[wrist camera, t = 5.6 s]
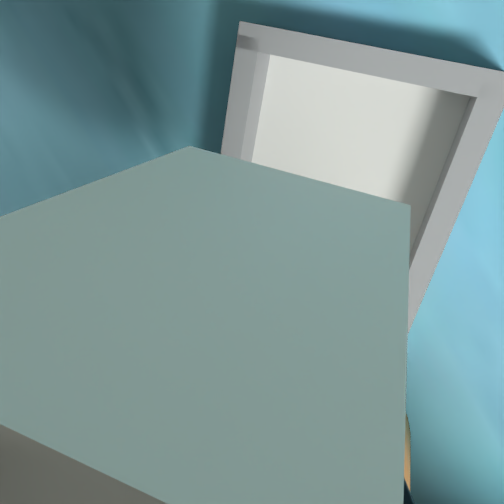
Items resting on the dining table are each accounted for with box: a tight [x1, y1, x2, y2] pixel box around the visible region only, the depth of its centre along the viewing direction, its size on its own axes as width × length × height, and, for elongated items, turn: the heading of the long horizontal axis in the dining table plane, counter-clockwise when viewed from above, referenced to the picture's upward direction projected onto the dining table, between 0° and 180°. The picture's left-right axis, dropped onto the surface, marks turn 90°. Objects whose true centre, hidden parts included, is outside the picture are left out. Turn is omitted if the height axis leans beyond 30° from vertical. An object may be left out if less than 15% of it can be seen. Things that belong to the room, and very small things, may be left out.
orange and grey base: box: [221, 21, 504, 491], centre depth 18 cm, size 14×25×5 cm, turn 170°
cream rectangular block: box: [0, 146, 411, 504], centre depth 6 cm, size 4×7×6 cm, turn 170°
